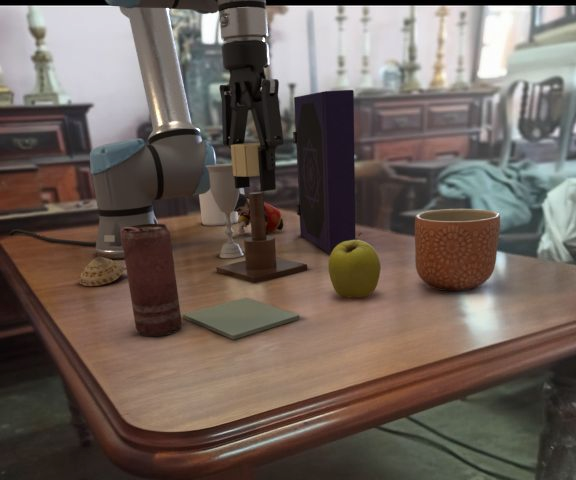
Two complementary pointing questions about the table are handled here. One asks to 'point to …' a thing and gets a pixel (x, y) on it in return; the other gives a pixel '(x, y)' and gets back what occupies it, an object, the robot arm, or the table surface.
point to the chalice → (225, 202)
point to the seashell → (100, 272)
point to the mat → (240, 317)
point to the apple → (354, 268)
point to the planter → (456, 247)
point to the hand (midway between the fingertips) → (255, 188)
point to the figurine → (271, 215)
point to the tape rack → (260, 251)
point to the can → (151, 278)
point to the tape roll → (245, 159)
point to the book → (326, 167)
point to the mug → (214, 210)
